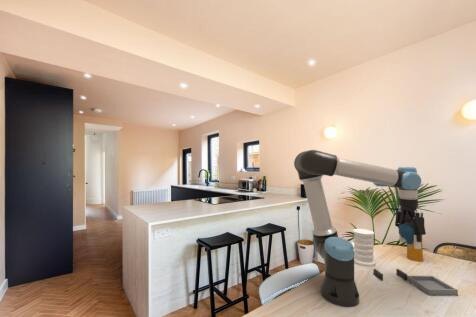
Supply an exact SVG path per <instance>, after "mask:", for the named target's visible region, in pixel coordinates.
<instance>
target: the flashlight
mask: <svg viewBox="0 0 476 317" xmlns="http://www.w3.org/2000/svg"><path fill="white" fill-rule="evenodd" d="M423 222H424V223H425V217H424V216H423ZM406 223H411V221H410V220H409V218H407V221H406ZM421 237H422V238H423V235H422V236H421ZM423 251H424V249H423V241H422V242H421V249H415V248H414V242H413V244H412V248H409V247H408V245H407V244H406V257H407V259H409V260H411V261H416V262H423V260H424V258H423V256H424V255H423V254H424V253H423Z"/></svg>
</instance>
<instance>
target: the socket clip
mask: <svg viewBox="0 0 476 317" xmlns="http://www.w3.org/2000/svg"><path fill="white" fill-rule="evenodd" d="M395 270H396V275H397V277H399V278H401V279H402V280H404V282H405V281H407V276H408V274H407V273H406V272H404V271H403V270H401V269H399V268H396V269H395ZM373 276H374V277H376V278H377V279H378V280H379V281H382V282H383V281H384V274H383V273H382V272H380V271H379V270H378V269H376V268H373ZM407 282H408V281H407Z"/></svg>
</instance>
